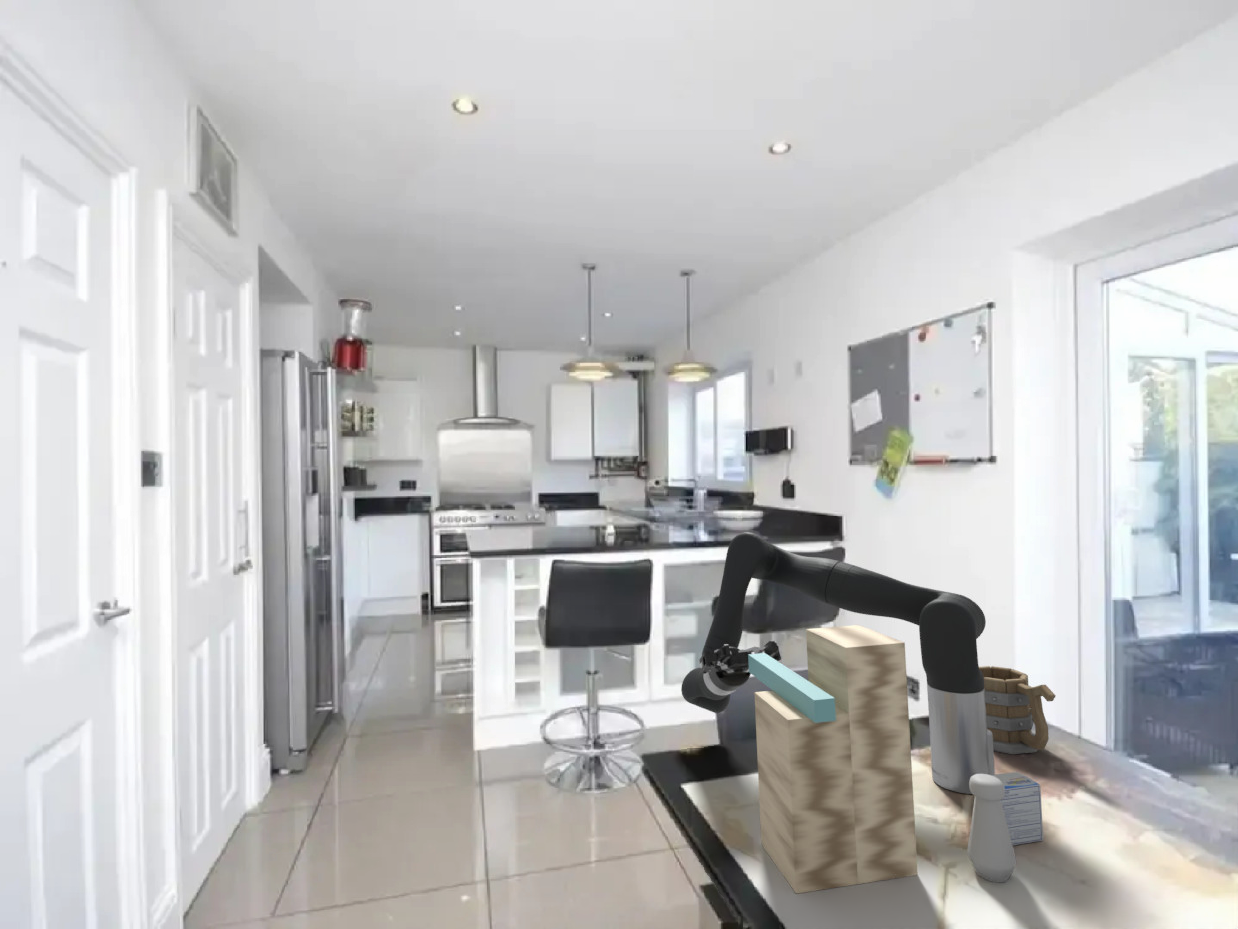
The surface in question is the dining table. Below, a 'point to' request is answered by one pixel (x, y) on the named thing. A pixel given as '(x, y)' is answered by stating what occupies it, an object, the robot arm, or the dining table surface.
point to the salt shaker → (990, 830)
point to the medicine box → (1022, 807)
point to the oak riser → (840, 767)
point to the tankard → (1014, 711)
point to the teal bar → (793, 688)
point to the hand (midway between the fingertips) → (751, 648)
